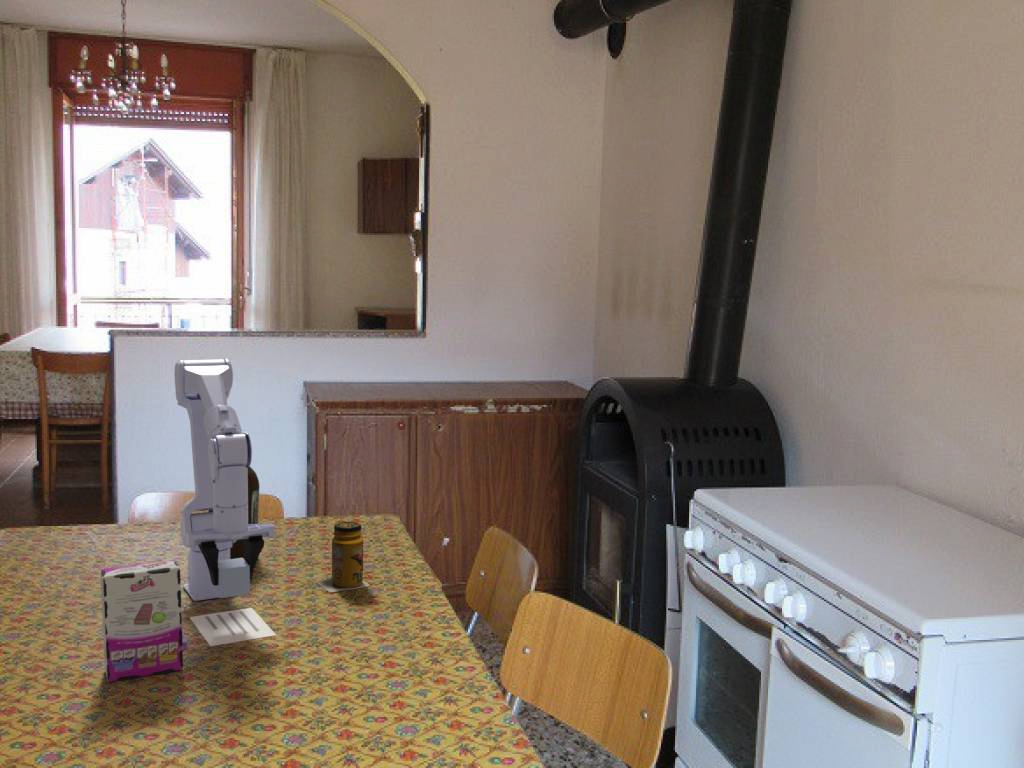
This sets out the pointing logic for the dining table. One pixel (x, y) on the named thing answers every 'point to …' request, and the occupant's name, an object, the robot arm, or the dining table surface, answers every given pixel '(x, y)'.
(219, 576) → the cube
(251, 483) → the olive oil
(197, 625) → the letter
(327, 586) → the condiment
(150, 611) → the candy bar box
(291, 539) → the dining table surface
